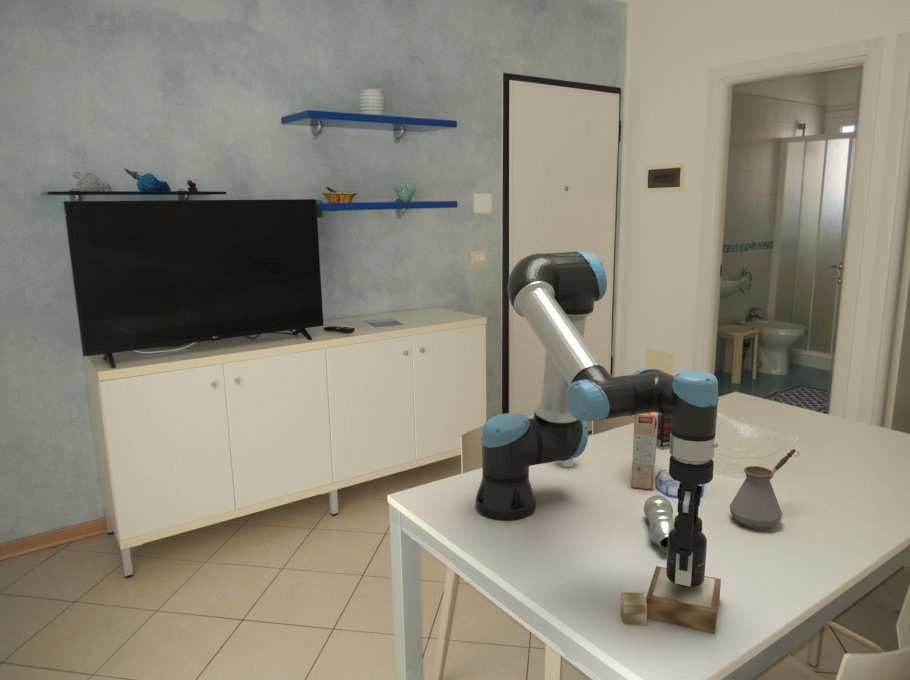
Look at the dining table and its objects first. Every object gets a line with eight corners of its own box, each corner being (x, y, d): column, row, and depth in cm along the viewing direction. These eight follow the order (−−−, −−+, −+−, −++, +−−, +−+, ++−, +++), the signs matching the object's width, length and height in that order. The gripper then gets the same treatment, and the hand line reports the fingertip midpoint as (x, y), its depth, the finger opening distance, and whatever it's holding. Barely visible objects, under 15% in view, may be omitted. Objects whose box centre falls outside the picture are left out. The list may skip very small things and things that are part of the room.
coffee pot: (763, 538, 151) (768, 476, 148) (718, 519, 160) (722, 460, 157) (813, 513, 162) (819, 455, 160) (769, 497, 172) (774, 442, 169)
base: (645, 617, 123) (646, 596, 122) (655, 584, 133) (656, 564, 133) (714, 633, 118) (716, 611, 117) (719, 597, 128) (720, 577, 128)
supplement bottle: (707, 590, 120) (711, 529, 118) (667, 587, 122) (670, 526, 119) (701, 570, 127) (704, 512, 125) (664, 567, 128) (666, 509, 126)
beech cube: (623, 624, 121) (624, 604, 120) (620, 611, 125) (621, 592, 124) (646, 625, 121) (647, 605, 120) (642, 612, 124) (643, 592, 124)
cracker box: (653, 491, 177) (657, 415, 173) (630, 488, 179) (633, 413, 174) (656, 471, 190) (659, 400, 186) (634, 469, 192) (636, 399, 187)
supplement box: (671, 440, 214) (674, 393, 211) (682, 445, 209) (685, 397, 206) (650, 445, 210) (652, 396, 207) (660, 449, 206) (662, 400, 203)
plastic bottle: (673, 515, 162) (686, 556, 142) (644, 518, 163) (654, 560, 144) (669, 490, 161) (682, 528, 141) (640, 494, 162) (649, 532, 143)
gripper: (709, 480, 109) (701, 606, 114) (717, 442, 127) (710, 552, 131) (662, 473, 113) (656, 596, 117) (676, 437, 130) (671, 545, 135)
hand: (685, 573), depth 124 cm, fingers closed on supplement bottle, 7 cm apart
